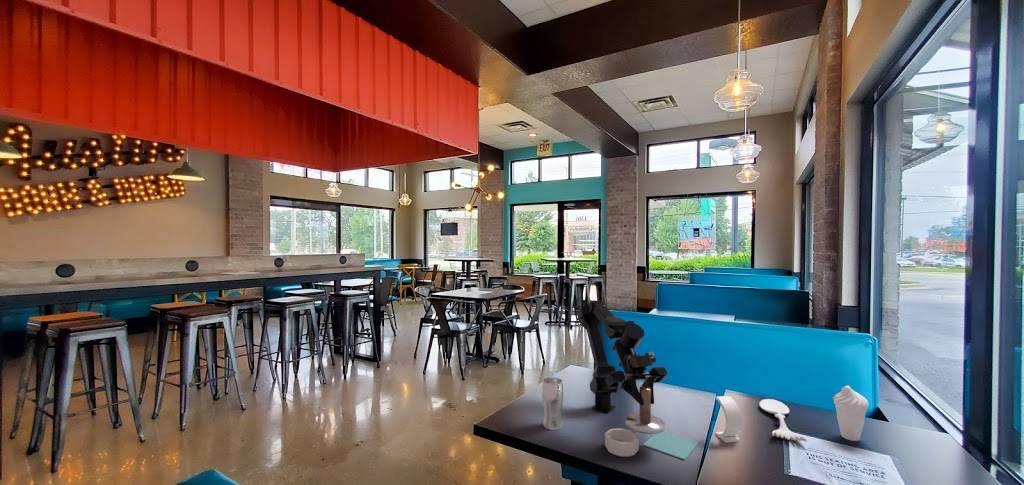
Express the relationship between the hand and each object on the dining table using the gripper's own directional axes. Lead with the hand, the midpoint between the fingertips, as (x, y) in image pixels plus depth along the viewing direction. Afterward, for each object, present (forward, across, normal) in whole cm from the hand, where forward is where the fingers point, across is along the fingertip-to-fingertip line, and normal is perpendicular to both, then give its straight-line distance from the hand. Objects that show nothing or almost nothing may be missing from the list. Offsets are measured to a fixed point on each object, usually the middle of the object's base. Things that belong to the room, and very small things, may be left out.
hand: (647, 404), depth 119 cm
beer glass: (-6, -21, +25) cm, 33 cm away
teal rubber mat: (+9, +8, +10) cm, 16 cm away
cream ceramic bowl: (+8, -7, +11) cm, 15 cm away
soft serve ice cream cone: (+17, +64, +2) cm, 66 cm away
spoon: (+8, +52, +12) cm, 53 cm away
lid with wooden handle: (+4, 0, +6) cm, 7 cm away
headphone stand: (+10, +27, +8) cm, 30 cm away
